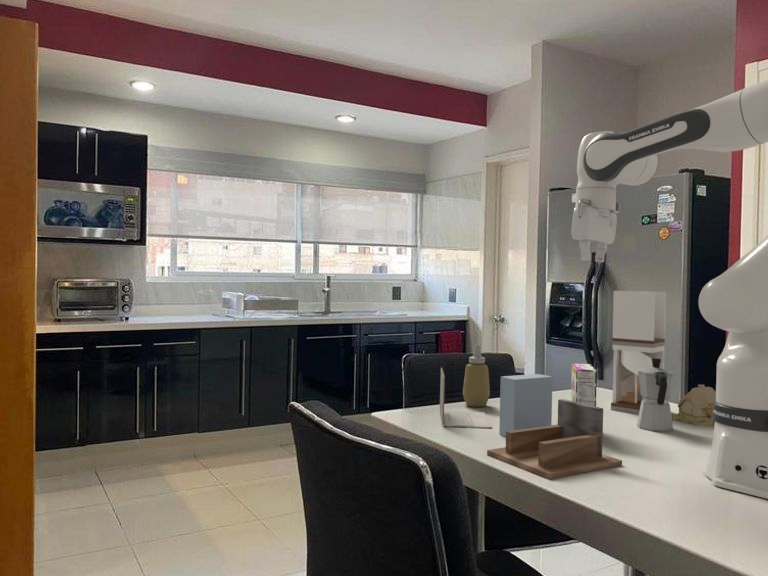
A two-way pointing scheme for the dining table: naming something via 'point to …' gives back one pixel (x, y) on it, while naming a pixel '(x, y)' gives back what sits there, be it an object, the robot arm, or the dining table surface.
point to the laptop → (460, 414)
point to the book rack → (560, 444)
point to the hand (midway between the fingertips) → (592, 261)
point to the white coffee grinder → (635, 343)
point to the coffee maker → (655, 398)
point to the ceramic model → (697, 406)
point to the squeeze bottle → (476, 381)
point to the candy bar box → (584, 384)
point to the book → (525, 402)
